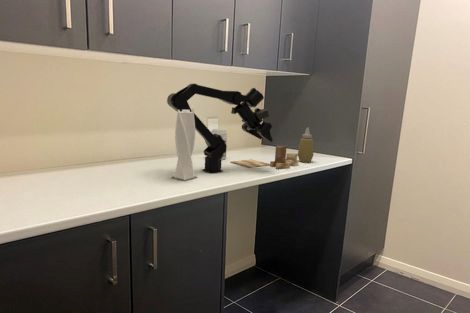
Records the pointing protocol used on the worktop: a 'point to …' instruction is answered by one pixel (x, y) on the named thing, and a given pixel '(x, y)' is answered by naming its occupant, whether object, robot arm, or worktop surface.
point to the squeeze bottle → (306, 147)
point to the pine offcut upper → (291, 156)
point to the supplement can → (224, 137)
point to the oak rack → (280, 165)
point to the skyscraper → (185, 144)
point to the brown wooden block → (280, 154)
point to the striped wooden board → (250, 163)
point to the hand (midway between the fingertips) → (266, 140)
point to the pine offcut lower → (292, 162)
